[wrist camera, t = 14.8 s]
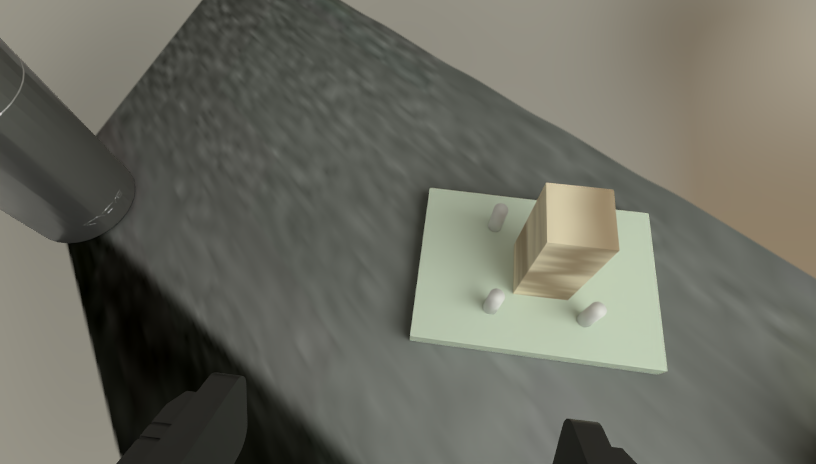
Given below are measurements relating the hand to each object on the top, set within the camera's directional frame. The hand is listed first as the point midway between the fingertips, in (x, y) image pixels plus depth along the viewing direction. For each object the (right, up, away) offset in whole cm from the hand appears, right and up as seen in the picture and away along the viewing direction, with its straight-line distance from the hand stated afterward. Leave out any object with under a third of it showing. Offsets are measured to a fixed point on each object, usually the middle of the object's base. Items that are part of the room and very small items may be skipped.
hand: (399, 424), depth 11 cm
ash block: (+11, +1, +27) cm, 29 cm away
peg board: (+11, +1, +28) cm, 30 cm away
